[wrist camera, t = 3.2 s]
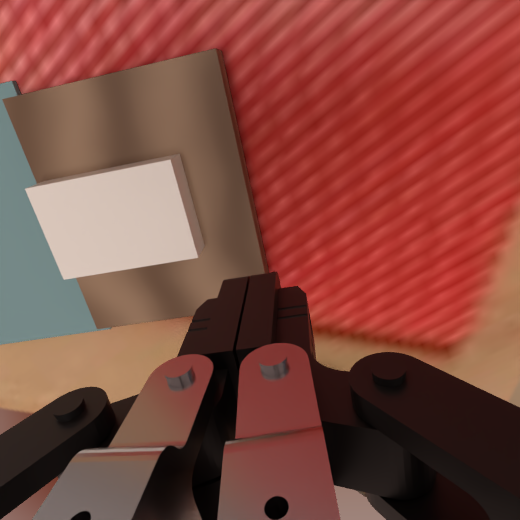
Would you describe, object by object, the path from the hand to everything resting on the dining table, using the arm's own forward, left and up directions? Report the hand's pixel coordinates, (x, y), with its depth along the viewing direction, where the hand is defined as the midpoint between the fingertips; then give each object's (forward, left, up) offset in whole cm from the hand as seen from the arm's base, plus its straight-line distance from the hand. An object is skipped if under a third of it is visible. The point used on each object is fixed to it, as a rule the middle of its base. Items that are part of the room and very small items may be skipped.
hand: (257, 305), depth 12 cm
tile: (+10, 0, -15) cm, 18 cm away
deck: (+8, 0, -17) cm, 19 cm away
